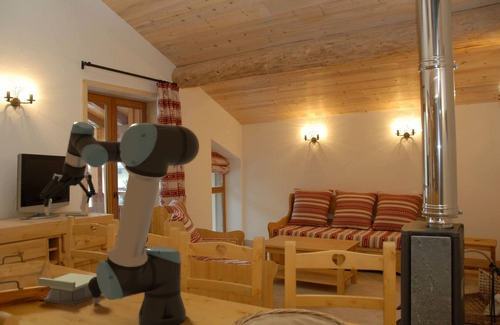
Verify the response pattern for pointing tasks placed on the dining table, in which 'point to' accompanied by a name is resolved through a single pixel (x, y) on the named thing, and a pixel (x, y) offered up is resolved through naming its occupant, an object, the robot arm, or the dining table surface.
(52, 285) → the pale green square board
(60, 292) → the holder
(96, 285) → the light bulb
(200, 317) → the dining table surface
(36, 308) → the dining table surface
